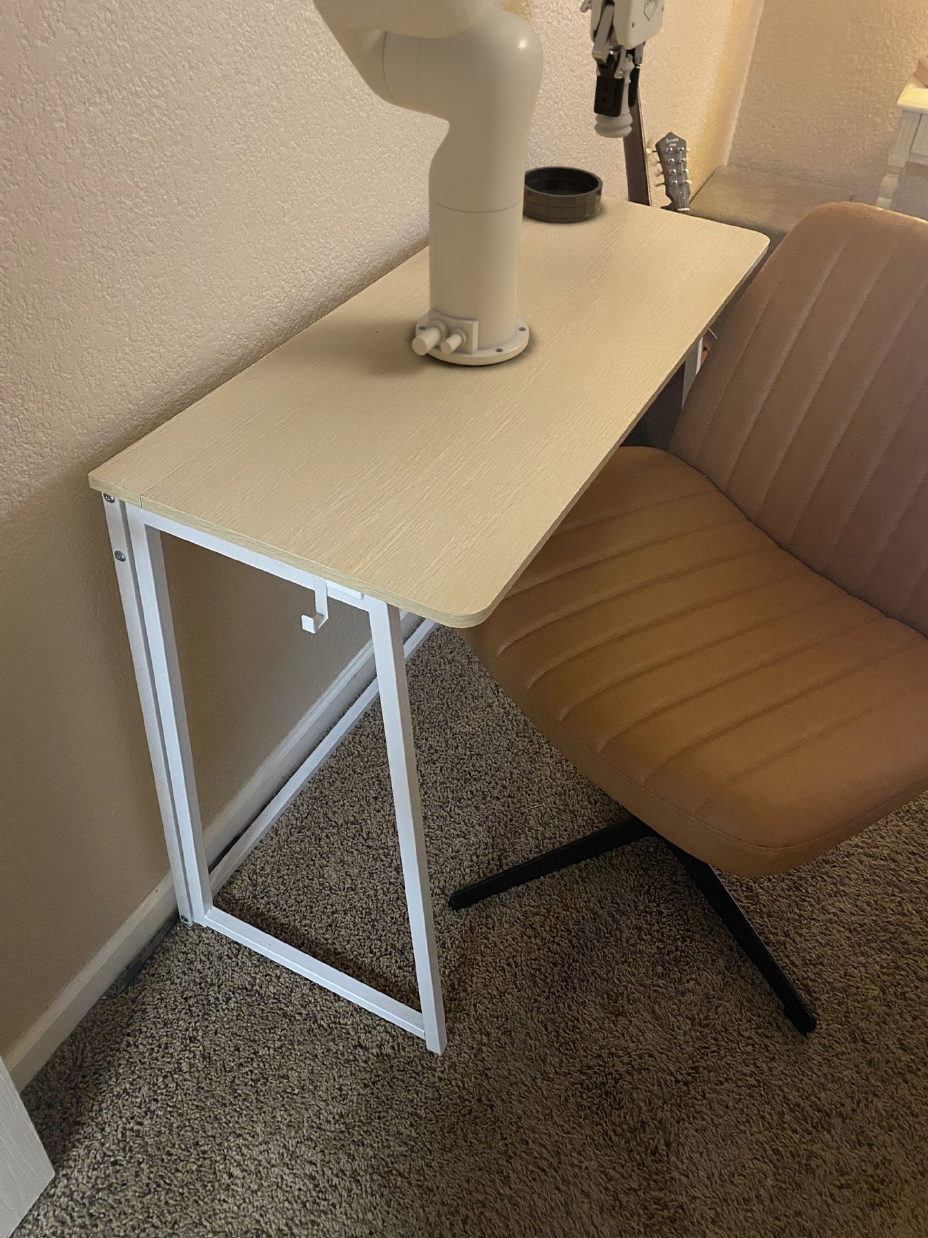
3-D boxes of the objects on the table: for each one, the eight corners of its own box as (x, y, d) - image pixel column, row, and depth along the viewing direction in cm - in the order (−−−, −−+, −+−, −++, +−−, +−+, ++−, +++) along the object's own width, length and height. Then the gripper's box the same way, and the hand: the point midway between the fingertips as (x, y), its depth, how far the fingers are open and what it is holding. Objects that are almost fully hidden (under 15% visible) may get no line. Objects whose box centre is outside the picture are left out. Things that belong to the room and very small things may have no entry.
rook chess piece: (601, 140, 109) (609, 62, 103) (588, 127, 112) (595, 51, 106) (637, 137, 109) (647, 59, 104) (623, 124, 112) (632, 48, 107)
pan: (579, 229, 127) (582, 202, 124) (503, 211, 131) (504, 185, 128) (612, 201, 134) (615, 175, 132) (539, 185, 138) (541, 160, 136)
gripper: (639, -70, 89) (614, 136, 102) (700, -95, 100) (671, 96, 113) (568, -79, 92) (553, 123, 105) (634, -101, 102) (613, 85, 115)
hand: (614, 107), depth 109 cm, fingers closed on rook chess piece, 3 cm apart
